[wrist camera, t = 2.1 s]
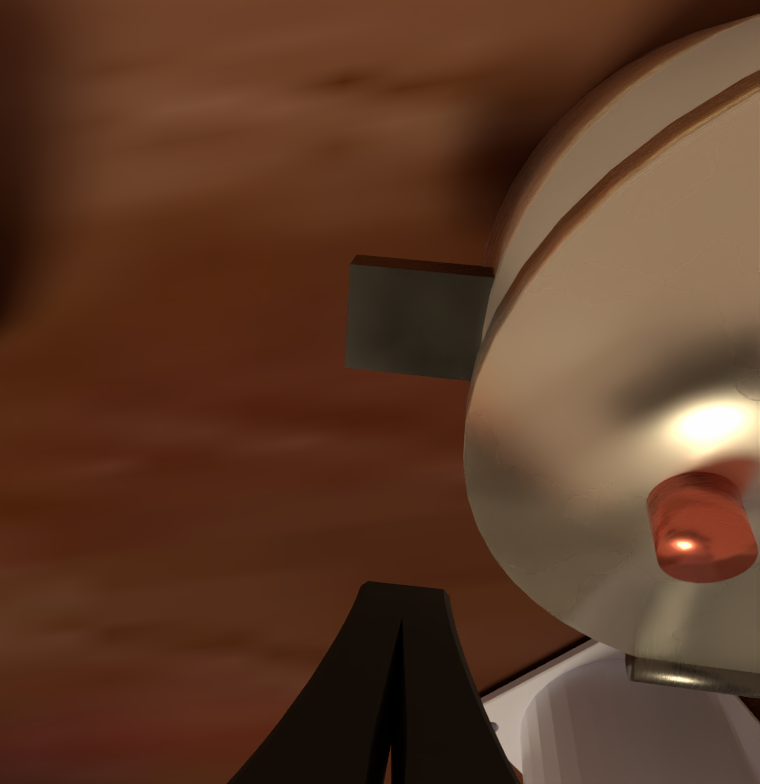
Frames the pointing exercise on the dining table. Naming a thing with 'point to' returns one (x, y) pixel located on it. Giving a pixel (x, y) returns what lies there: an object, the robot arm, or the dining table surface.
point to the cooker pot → (534, 207)
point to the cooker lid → (637, 408)
